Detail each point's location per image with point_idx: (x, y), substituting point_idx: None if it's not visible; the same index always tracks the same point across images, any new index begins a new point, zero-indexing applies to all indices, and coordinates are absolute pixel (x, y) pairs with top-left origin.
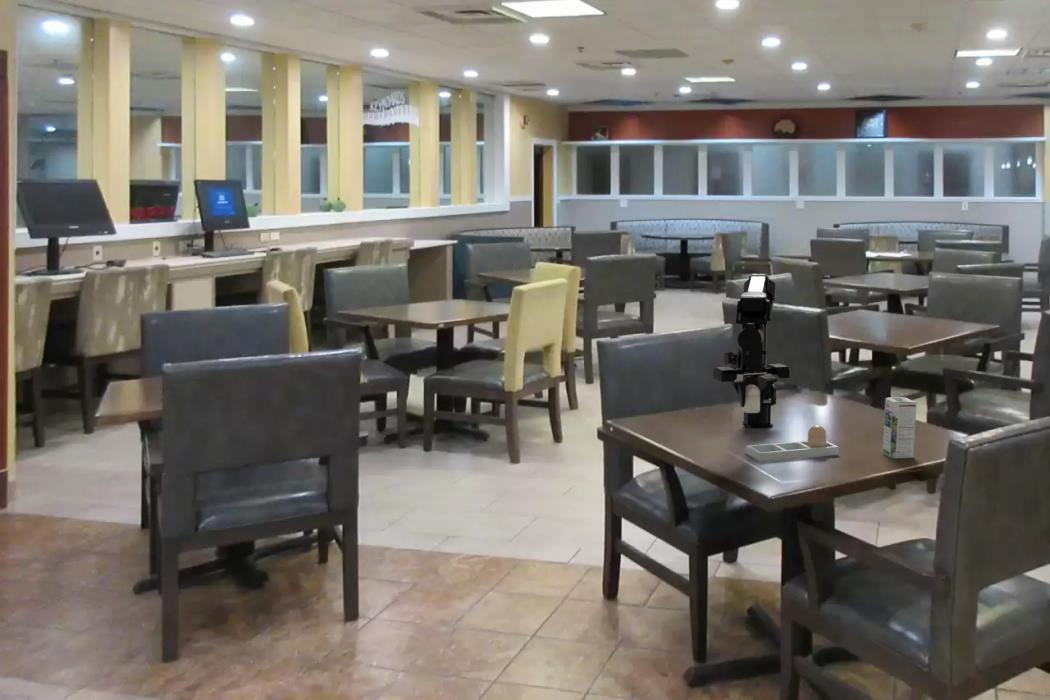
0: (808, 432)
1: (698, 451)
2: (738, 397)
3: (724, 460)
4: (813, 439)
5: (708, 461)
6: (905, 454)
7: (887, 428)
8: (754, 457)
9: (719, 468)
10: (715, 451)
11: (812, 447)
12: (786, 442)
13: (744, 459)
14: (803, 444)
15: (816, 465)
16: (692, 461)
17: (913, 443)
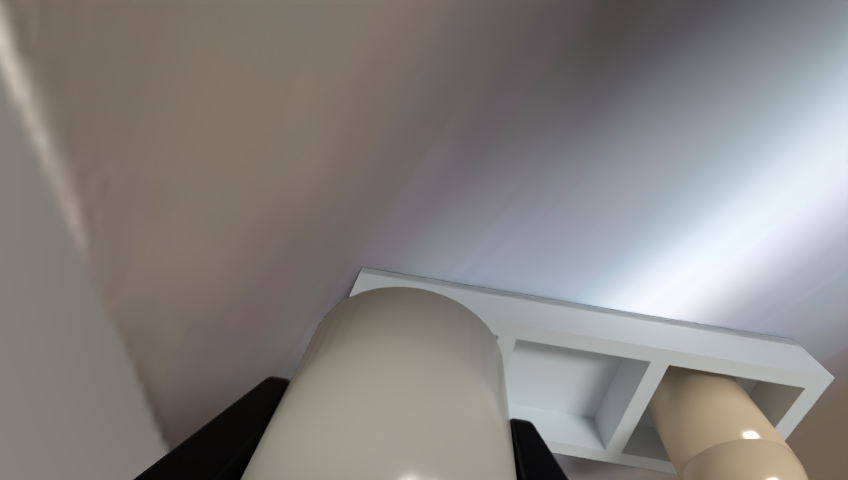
0: (701, 465)
1: (148, 88)
2: (160, 476)
3: (228, 288)
4: (674, 467)
5: (152, 271)
6: None
7: None
8: None
9: (169, 363)
10: (245, 133)
11: (655, 425)
12: (597, 340)
13: (322, 313)
14: (643, 400)
15: None
16: (78, 240)
17: None
